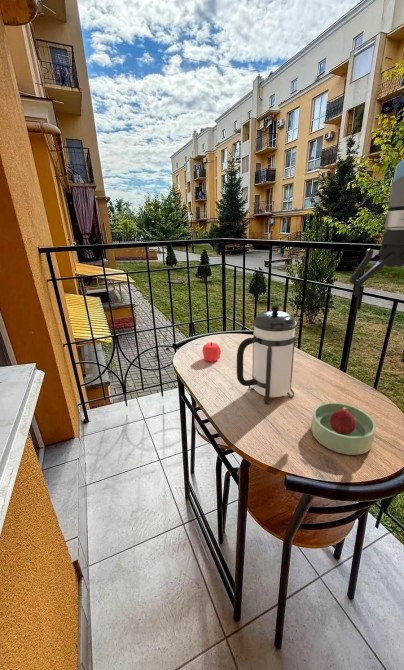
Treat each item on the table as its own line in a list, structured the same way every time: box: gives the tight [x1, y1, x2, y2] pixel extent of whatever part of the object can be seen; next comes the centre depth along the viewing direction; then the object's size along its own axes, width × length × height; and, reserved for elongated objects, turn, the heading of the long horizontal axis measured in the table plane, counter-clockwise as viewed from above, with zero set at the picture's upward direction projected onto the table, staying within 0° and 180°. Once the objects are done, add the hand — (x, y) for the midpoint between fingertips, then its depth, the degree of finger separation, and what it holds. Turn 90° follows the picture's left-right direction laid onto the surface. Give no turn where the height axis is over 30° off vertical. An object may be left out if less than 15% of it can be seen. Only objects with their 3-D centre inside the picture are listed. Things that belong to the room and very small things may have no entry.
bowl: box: [310, 402, 377, 456], centre depth 72 cm, size 14×14×6 cm
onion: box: [330, 407, 356, 435], centre depth 71 cm, size 6×6×8 cm
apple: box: [201, 341, 222, 363], centre depth 118 cm, size 8×8×8 cm
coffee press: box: [236, 304, 298, 405], centre depth 87 cm, size 17×16×30 cm
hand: (385, 309), depth 78 cm, fingers open, 13 cm apart
